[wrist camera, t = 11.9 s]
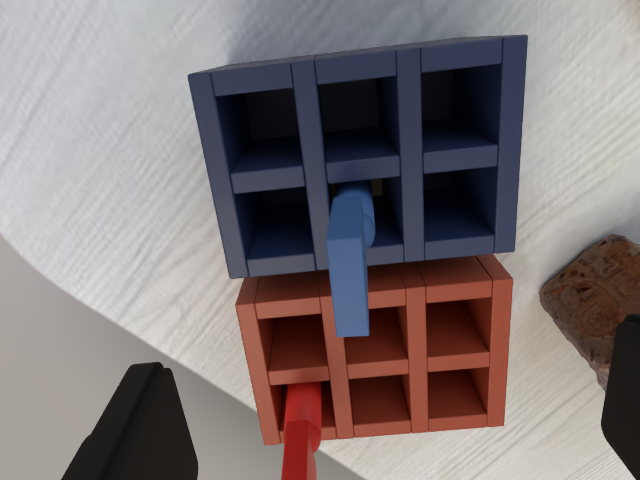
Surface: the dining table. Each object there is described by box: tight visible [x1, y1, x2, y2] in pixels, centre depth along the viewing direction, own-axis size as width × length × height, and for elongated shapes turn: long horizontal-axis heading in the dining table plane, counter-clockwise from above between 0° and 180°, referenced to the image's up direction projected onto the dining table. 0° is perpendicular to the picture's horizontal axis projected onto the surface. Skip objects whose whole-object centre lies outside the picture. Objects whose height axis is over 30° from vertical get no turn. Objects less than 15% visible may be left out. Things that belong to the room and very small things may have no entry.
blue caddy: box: [188, 35, 528, 279], centre depth 22 cm, size 13×9×8 cm
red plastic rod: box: [281, 381, 321, 480], centre depth 24 cm, size 2×3×14 cm, turn 6°
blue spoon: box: [326, 180, 375, 337], centre depth 19 cm, size 2×3×14 cm, turn 6°
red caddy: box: [235, 254, 513, 445], centre depth 26 cm, size 13×9×8 cm
